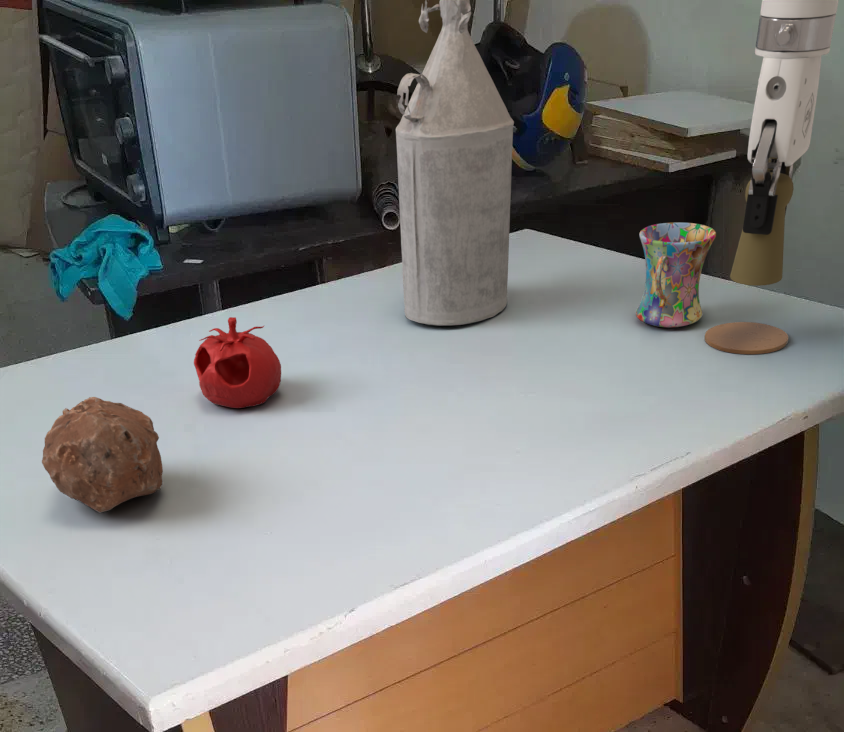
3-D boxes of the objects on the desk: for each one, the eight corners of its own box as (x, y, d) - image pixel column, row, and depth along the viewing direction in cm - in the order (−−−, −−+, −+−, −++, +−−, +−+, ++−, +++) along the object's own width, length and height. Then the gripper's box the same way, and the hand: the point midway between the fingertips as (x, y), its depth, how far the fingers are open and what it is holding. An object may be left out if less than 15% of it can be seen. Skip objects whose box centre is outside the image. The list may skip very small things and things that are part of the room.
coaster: (796, 331, 127) (796, 327, 127) (776, 359, 121) (777, 354, 120) (717, 322, 131) (718, 318, 131) (694, 348, 125) (694, 344, 124)
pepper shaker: (773, 288, 118) (790, 183, 111) (722, 281, 121) (736, 179, 113) (789, 272, 122) (806, 169, 114) (739, 266, 124) (754, 165, 117)
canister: (379, 321, 138) (351, -50, 112) (460, 286, 147) (451, -63, 121) (451, 339, 131) (439, -51, 105) (530, 301, 141) (538, -64, 114)
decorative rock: (177, 517, 98) (154, 417, 92) (59, 538, 96) (26, 438, 89) (164, 461, 108) (142, 367, 101) (56, 480, 106) (27, 385, 99)
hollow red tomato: (240, 376, 125) (226, 297, 119) (301, 391, 120) (291, 310, 114) (182, 404, 119) (165, 323, 113) (244, 422, 114) (230, 338, 108)
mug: (644, 305, 137) (652, 219, 130) (712, 312, 134) (724, 225, 127) (615, 335, 129) (622, 245, 122) (687, 343, 126) (699, 252, 119)
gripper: (812, 49, 98) (778, 249, 110) (848, 25, 110) (813, 210, 122) (735, 48, 101) (710, 243, 113) (778, 25, 112) (750, 205, 124)
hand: (763, 224), depth 117 cm, fingers closed on pepper shaker, 5 cm apart
